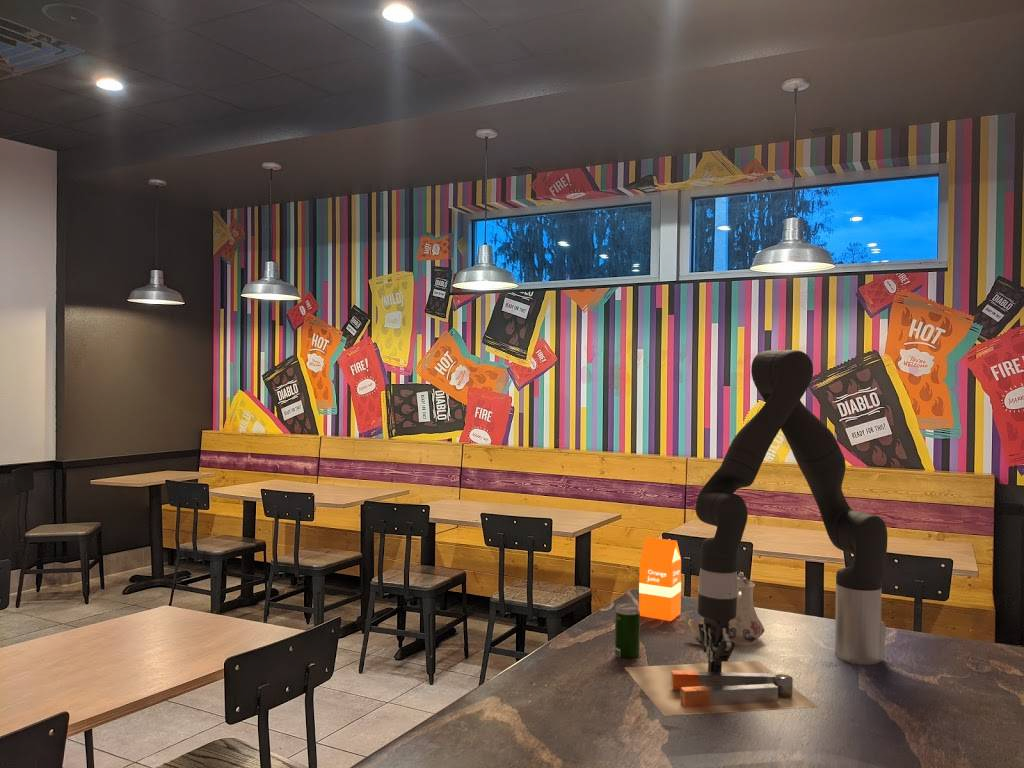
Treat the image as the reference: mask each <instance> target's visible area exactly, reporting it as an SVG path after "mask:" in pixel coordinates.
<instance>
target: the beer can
mask: <svg viewBox="0 0 1024 768" xmlns="http://www.w3.org/2000/svg"><path fill="white" fill-rule="evenodd" d="M614 612H615V613H614V615H615V616H614V617H615V618H614V627H615V628H614V658H615V657H617V658H621V659H626V660H633V659H637V658H639V657H640V653H641V652H640V649H641V648H640V643H641V642H640V638H641V635H640V634H641V631H640V630H641V616H640V611H639V605H637V604H633V603H619V604H616V608H615V611H614Z"/></svg>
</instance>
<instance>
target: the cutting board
mask: <svg viewBox="0 0 1024 768" xmlns="http://www.w3.org/2000/svg"><path fill="white" fill-rule="evenodd" d="M623 668H624V669H625V671H626V672H627V673H628V674H629V675H630V677H631V678H632V679H633V680H634V682H635V683H637V686H639V688H641V690H642V691H643V692H644V693H645V695H646V696H647V697H648V699H649V700H650V701H651V702H652V704H653V705H654V707H656V708H657V709H658V711H659V712H660V713H661V714H662V716H663V717H673V716H675V717H676V716H689V715H705V714H706V715H707V714H724V713H738V712H756V711H758V712H759V711H770V710H771V711H773V710H789V709H805V708H819V706H818V705H817V704H816V703H814V701H812V700H810V699H809V698H808V697H807V696H805V695H804V694H803V693H801V692H800V691H799V690H797V689H796V688H795V687H793V691H792V696H791V697H781V696H778V702H769V703H752V704H735V705H718V706H705V707H688V708H684V707H683V705H682V704H681V690H673V688H672V686H671V675H672V670H676V671H698V672H708V662H706V663H688V664H687V663H684V664H665V665H645V666H627V667H623ZM721 672H735V673H775V672H774V671H772V670H771V669H770V668H768V667H767V666H766V665H764V664H763V663H762V662H761V661H759V660H748V661H747V660H746V661H745V660H744V661H729V662H728V661H727V662H722V669H721Z"/></svg>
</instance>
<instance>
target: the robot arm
mask: <svg viewBox="0 0 1024 768" xmlns="http://www.w3.org/2000/svg"><path fill="white" fill-rule="evenodd" d="M750 369H751V370H750V371H751V378H752V381H753V384H754V385H755V388H756V390H757V392H758V393H759V394H760V396H761V398H762V400H763V401H764V402H765V403H764V404H763V406H762V407H761V408H760V410H759V411H758V412H757V413H756V414H755V415H754V416H753V417H752V418H751V419H750V420H749V421H748V422H746V423H745V424H744V425H743V427H741V429H740V430H739V431H738V432H737V434H736V435H735V436H734V438H733V439H732V441H731V442H730V445H729V447H728V448H727V451H726V453H725V456H724V458H723V460H722V462H721V464H720V467H718V469H717V470H716V471H715V472H714V473H713V474H712V475H711V477H710V478H709V479H708V481H707V482H706V483H705V485H704V486H703V487H702V488H701V490H700V491H699V493H698V495H697V497H696V501H695V513H696V516H697V518H698V519H699V520H700V521H701V522H702V523H704V524H707V525H709V526H710V525H711V526H714V527H716V531H715V534H714V536H713V537H707V538H705V539H703V541H702V543H701V549H700V568H699V575H698V586H697V588H698V589H697V590H698V591H697V609H696V610H697V614H698V615H699V616H701V617H702V618H703V619H704V623H699V624H698V627H699V632H700V637H701V641H702V645H701V646H702V650H703V652H704V653H706V654H705V655H706V659H707V663H708V672H721V669H722V663H723V662H728V661H729V659H730V657H731V656H732V653H733V651H734V649H735V648H736V644H735V642H734V641H730V640H729V632H730V630H729V621H730V620H732V619H734V618H735V617H736V615H737V590H738V579H737V577H738V554H739V553H738V552H739V547H740V545H741V542H742V538H743V535H744V533H745V529H746V526H747V523H748V518H749V517H748V507H747V504H746V502H745V500H744V499H743V497H742V496H740V495H739V494H736V491H737V490H739V489H742V488H748V487H750V486H751V485H753V483H754V482H755V480H756V479H757V475H758V473H759V471H760V469H761V467H762V465H763V462H764V460H765V458H766V455H767V453H768V451H769V449H770V447H771V445H772V444H773V442H774V440H775V438H776V437H777V436H778V434H779V432H780V431H781V432H782V434H783V436H784V438H785V440H786V442H787V444H788V446H789V448H790V450H791V451H792V454H793V457H794V459H795V461H796V462H797V463H796V464H797V465H798V468H799V469H800V472H801V473H802V474H803V476H804V479H805V480H806V482H807V483H806V484H807V485H808V487H809V490H810V491H811V494H812V496H813V498H814V501H815V503H816V505H817V508H818V510H819V513H820V516H821V520H822V523H823V525H824V528H825V531H826V533H827V535H828V538H829V540H830V542H831V543H832V545H833V546H834V547H835V548H837V549H838V550H840V551H841V552H842V551H843V552H846V553H850V554H854V560H853V564H852V565H851V566H848V567H843V568H839V569H837V571H836V575H835V619H834V620H835V623H834V624H835V625H834V626H835V629H834V631H835V632H834V633H835V634H834V656H835V657H836V658H837V659H839V660H841V661H845V662H848V663H852V664H857V665H876V664H878V663H880V662H885V660H886V659H885V658H886V623H885V622H884V621H882V587H883V585H882V584H883V579H884V577H885V573H886V565H887V563H886V562H887V554H888V553H887V551H888V528H887V525H886V523H885V521H884V520H883V518H881V517H880V516H878V515H876V514H872V513H867V512H862V511H856V510H853V508H851V506H850V505H849V503H848V501H847V500H846V497H845V496H844V493H843V487H842V485H843V482H844V479H845V474H846V467H847V466H846V459H845V456H844V454H843V452H842V449H841V448H840V445H839V443H838V441H837V438H836V437H835V435H834V433H833V432H832V430H830V429H829V427H827V425H826V424H825V423H824V422H822V420H821V419H819V418H818V417H817V416H816V415H815V414H814V413H812V412H811V410H809V408H807V406H806V405H804V404H803V402H802V401H801V399H802V397H803V396H804V395H805V393H806V392H807V390H808V388H809V386H810V384H811V382H812V380H813V376H814V375H813V374H814V366H813V362H812V360H811V358H810V356H809V355H808V354H807V353H805V352H803V351H801V350H799V349H798V350H797V349H774V350H773V349H771V350H765V351H764V350H763V351H761V352H759V353H757V354H756V355H755V357H754V358H753V360H752V362H751V367H750Z"/></svg>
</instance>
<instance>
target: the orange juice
mask: <svg viewBox="0 0 1024 768" xmlns="http://www.w3.org/2000/svg"><path fill="white" fill-rule="evenodd" d="M638 579H639V582H638V594H639V595H638V599H639V600H638V601H639V602H638V606H639V611H640V617H646V618H650V619H651V618H652V619H656V620H662V621H668V622H671V621H673V620H674V619H676V617H679V615H681V606H682V605H681V604H682V603H681V598H682V596H681V594H682V558H681V554H680V549H679V545H678V540H673V539H664V538H655V537H650V536H648V537H647V536H646V537H645V539H644V542H643V546H642V551H641V556H640V559H639V578H638Z"/></svg>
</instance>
